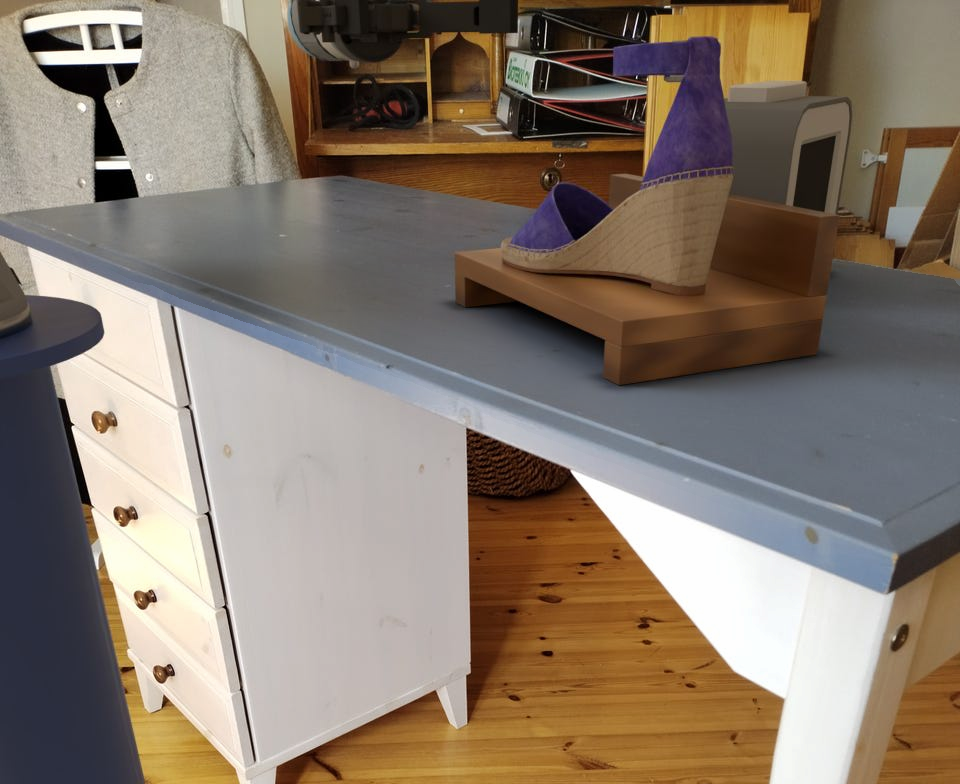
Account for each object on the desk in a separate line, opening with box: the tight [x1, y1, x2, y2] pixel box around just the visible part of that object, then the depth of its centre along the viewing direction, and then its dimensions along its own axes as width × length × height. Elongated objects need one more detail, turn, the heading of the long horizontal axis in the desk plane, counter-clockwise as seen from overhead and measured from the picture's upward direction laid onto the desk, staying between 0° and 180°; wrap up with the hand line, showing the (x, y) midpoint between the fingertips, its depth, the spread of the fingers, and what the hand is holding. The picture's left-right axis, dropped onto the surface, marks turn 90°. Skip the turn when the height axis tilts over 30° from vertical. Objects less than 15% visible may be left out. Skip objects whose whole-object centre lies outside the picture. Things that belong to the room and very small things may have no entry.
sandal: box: [500, 35, 733, 296], centre depth 71 cm, size 8×20×15 cm, turn 32°
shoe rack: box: [454, 173, 841, 386], centre depth 75 cm, size 16×26×9 cm, turn 25°
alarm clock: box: [724, 80, 853, 215], centre depth 87 cm, size 16×11×16 cm
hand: (441, 14), depth 85 cm, fingers open, 13 cm apart
